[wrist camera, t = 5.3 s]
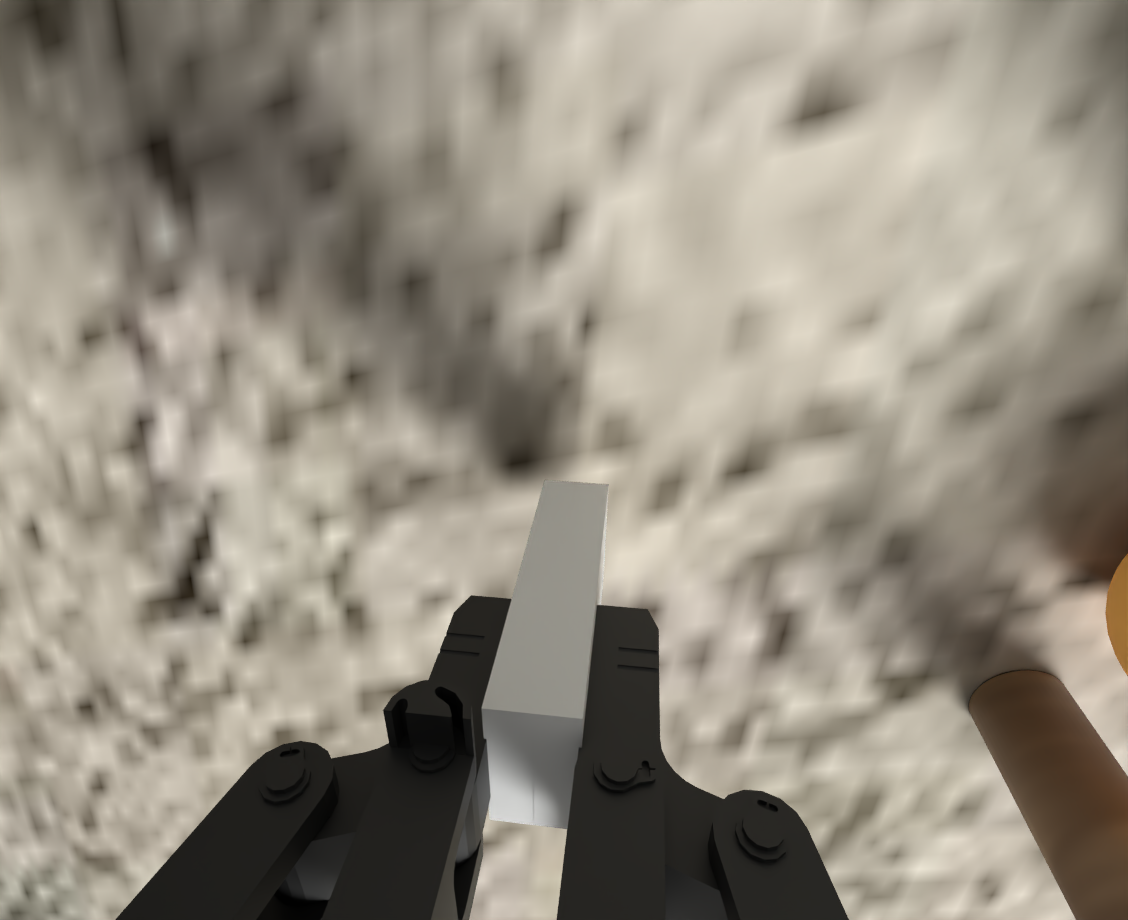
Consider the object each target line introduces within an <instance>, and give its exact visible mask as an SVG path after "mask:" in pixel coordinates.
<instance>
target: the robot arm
mask: <svg viewBox="0 0 1128 920" xmlns="http://www.w3.org/2000/svg"><path fill="white" fill-rule="evenodd" d="M608 485H609V484H595V483H581V482H566V481H552V480H544V484H543V488H542V491H541V495H540V499H539V502H538V506H537V509H536V513H535V517H534V520H533V524H532V527H531V531H530V535H529V538H528V542H527V546H526V549H525V553H524V556H523V560H522V564H521V567H520V571H519V574H518V578H517V582H516V585H515V589H514V593H513V596H512V599H506V598H495V597H483V596H472V595H471V596H470V597H469V598H468V599H467V600H466V601H465V602H464V603H463V604H462V605H461V606H460V607H459V608H458V609H457V610H456V611H455V612H454V614H453V617H452V620H451V622H450V625H449V628H448V630H447V635H446V637H445V638H444V641H443V643H442V646H441V649H440V653H439V654H438V657H437V659H436V662H435V664H434V667H433V670H432V672H431V675H430V678H429V680H424V681H420V682H417V683H415V684H412V685H409V686H406V687H405V688H403V689H402V690H401V691H399V692H398V693H397V694H395V695H394V696H393V697H392V698H391V700H390V701H389V702H388V704H387V705H386V707H385V708H384V710H383V711H384V717H385V722H386V728H387V733H388V739H389V743H388V744H386V745H384V746H382V747H380V748H378V749H375V750H371V751H368V752H364V753H359V754H353V755H348V756H343V757H338V758H332V759H331V757H330V755H329V753H328V751H327V750H325V749H324V748H322V747H321V746H319V745H318V744H316V743H310V742H303V741H299V742H293V743H288V744H283V745H281V746H279V747H277V748H275V749H273V750H271V751H268V752H266V753H265V754H264V755H263V756H261V757H260V758H259V759H258V760H257V761H256V762H255V763H253V764H252V765H251V766H250V767H249V768H248V769H247V771H246V772H245V773H244V774H243V775H242V776H241V777H240V779H239V780H238V781H237V782H236V783H235V784H234V785H233V787H232V788H231V789H230V790H229V791H228V792H227V793H226V795H225V796H224V797H223V798H222V799H221V800H220V801H219V802H218V804H217V805H216V806H215V807H214V808H213V809H212V810H211V812H210V813H209V814H208V815H207V816H206V817H205V818H204V820H203V821H202V822H201V823H200V824H199V825H198V826H197V827H196V829H195V830H194V831H193V832H192V833H191V834H190V835H189V837H188V838H187V839H186V840H185V841H184V842H183V843H182V845H181V846H180V847H179V848H178V849H177V850H176V851H175V852H174V854H173V855H172V856H171V857H170V858H169V859H168V860H167V862H166V863H165V864H164V865H163V866H162V867H161V868H160V870H159V871H158V872H157V873H156V874H155V875H154V876H153V878H152V879H151V880H150V881H149V882H148V883H147V884H146V885H145V887H144V888H143V889H142V890H141V891H140V892H139V893H138V895H137V896H136V897H135V898H134V899H133V900H132V901H131V903H130V904H129V905H128V906H127V907H126V908H125V909H124V910H123V912H122V913H121V914H120V915H119V916H118V917H117V918H116V920H469V917H470V912H471V908H472V903H473V899H474V894H475V889H476V885H477V880H478V876H479V871H480V867H481V862H482V857H483V833H482V832H483V828H484V823H485V819H486V815H487V810H488V806H489V816H490V820H497V821H505V822H513V823H522V824H530V825H538V826H546V827H555V828H563V829H567V837H566V845H565V854H564V862H563V871H562V879H561V888H560V897H559V905H558V914H557V920H849V919H848V917H847V915H846V912H845V910H844V908H843V906H842V904H841V901H840V899H839V897H838V895H837V893H836V890H835V888H834V886H833V884H832V882H831V879H830V877H829V875H828V873H827V871H826V868H825V866H824V864H823V862H822V860H821V857H820V855H819V853H818V851H817V849H816V846H815V844H814V842H813V840H812V838H811V835H810V833H809V831H808V829H807V827H806V826H805V824H804V823H803V821H802V820H801V818H800V817H799V815H798V814H797V812H796V811H795V810H793V809H792V808H791V807H790V806H788V805H787V804H786V803H785V802H784V801H782V800H781V799H780V798H777V797H775V796H772V795H770V794H768V793H765V792H763V791H753V790H742V791H739V792H736V793H733V794H730V795H728V796H727V797H726V798H725V799H722V798H720V797H717V796H715V795H713V794H710V793H708V792H706V791H704V790H701V789H699V788H697V787H695V786H693V785H692V784H690V783H688V782H686V781H685V780H684V779H683V778H681V777H680V776H679V775H678V774H677V773H676V772H675V771H674V770H673V769H672V768H671V766H670V765H669V764H668V762H667V761H666V758H665V756H664V754H663V752H662V749H661V742H660V708H659V629H658V627H657V626H656V624H655V622H654V620H653V618H652V616H651V615H650V613H649V611H648V609H638V608H627V607H615V606H604V605H601V599H602V589H603V579H604V562H605V543H606V523H607V504H608Z"/></svg>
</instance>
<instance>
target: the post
mask: <svg viewBox="0 0 1128 920" xmlns="http://www.w3.org/2000/svg"><path fill="white" fill-rule="evenodd" d="M969 711H970V714H971V716H972V718H973V720H974V722H975V724H976V726H977V728H978V730H979V731H980V733H981V735H982V737H983V739H984V741H985V743H986V745H987V747H988V749H989V751H990V753H991V755H992V757H993V759H994V761H995V763H996V765H997V767H998V768H999V770H1000V772H1001V774H1002V776H1003V778H1004V780H1005V782H1006V784H1007V786H1008V788H1009V790H1010V792H1011V794H1012V796H1013V798H1014V800H1015V802H1016V804H1017V805H1018V807H1019V809H1020V811H1021V813H1022V815H1023V817H1024V819H1025V821H1026V823H1027V825H1028V827H1029V829H1030V831H1031V833H1032V835H1033V837H1034V839H1035V841H1036V842H1037V844H1038V846H1039V848H1040V850H1041V852H1042V854H1043V856H1044V858H1045V860H1046V862H1047V864H1048V866H1049V868H1050V870H1051V872H1052V874H1053V876H1054V878H1055V879H1056V881H1057V883H1058V885H1059V887H1060V889H1061V891H1062V893H1063V895H1064V897H1065V899H1066V901H1067V903H1068V905H1069V907H1070V909H1071V911H1072V913H1073V915H1074V916H1075V918H1076V920H1128V776H1127V775H1126V773H1125V772H1124V770H1123V769H1122V768H1121V766H1120V765H1119V763H1118V762H1117V760H1116V759H1115V758H1114V756H1113V755H1112V753H1111V752H1110V750H1109V749H1108V747H1107V746H1106V745H1105V743H1104V742H1103V740H1102V739H1101V737H1100V736H1099V735H1098V733H1097V732H1096V730H1095V729H1094V727H1093V726H1092V725H1091V723H1090V722H1089V720H1088V719H1087V717H1086V716H1085V714H1084V713H1083V712H1082V710H1081V709H1080V707H1079V706H1078V704H1077V703H1076V702H1075V700H1074V699H1073V697H1072V696H1071V694H1070V693H1069V691H1068V690H1067V689H1066V687H1065V686H1064V684H1063V683H1062V682H1061V681H1060V680H1059V679H1057V678H1056V677H1054V676H1052V675H1050V674H1047V673H1044V672H1040V671H1030V670H1023V671H1013V672H1009V673H1005V674H1001V675H999V676H996V677H994V678H992V679H990V680H988V681H986V682H985V683H983V684H982V685H981V686H980V687H979V688H978V689H977V690H976V691H975V692H974V693H973V695H972V697H971V699H970V702H969Z"/></svg>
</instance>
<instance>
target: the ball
mask: <svg viewBox="0 0 1128 920" xmlns="http://www.w3.org/2000/svg"><path fill="white" fill-rule="evenodd" d="M1106 621H1107V629H1108V635H1109V638H1110V641H1111V644H1112V647H1113V649H1114V652H1115V655H1116V657H1117V659H1118V661H1119V662H1120V664H1121V666H1122V668H1123V670H1124V671H1125V673H1126V674H1127V676H1128V554H1127V555H1126V556H1125V557H1124V558H1123V560H1122V561H1121V563H1120V564H1119V566H1118V567H1117V569H1116V571H1115V574H1114V576H1113V578H1112V581H1111V583H1110V586H1109V590H1108V593H1107V603H1106Z"/></svg>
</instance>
